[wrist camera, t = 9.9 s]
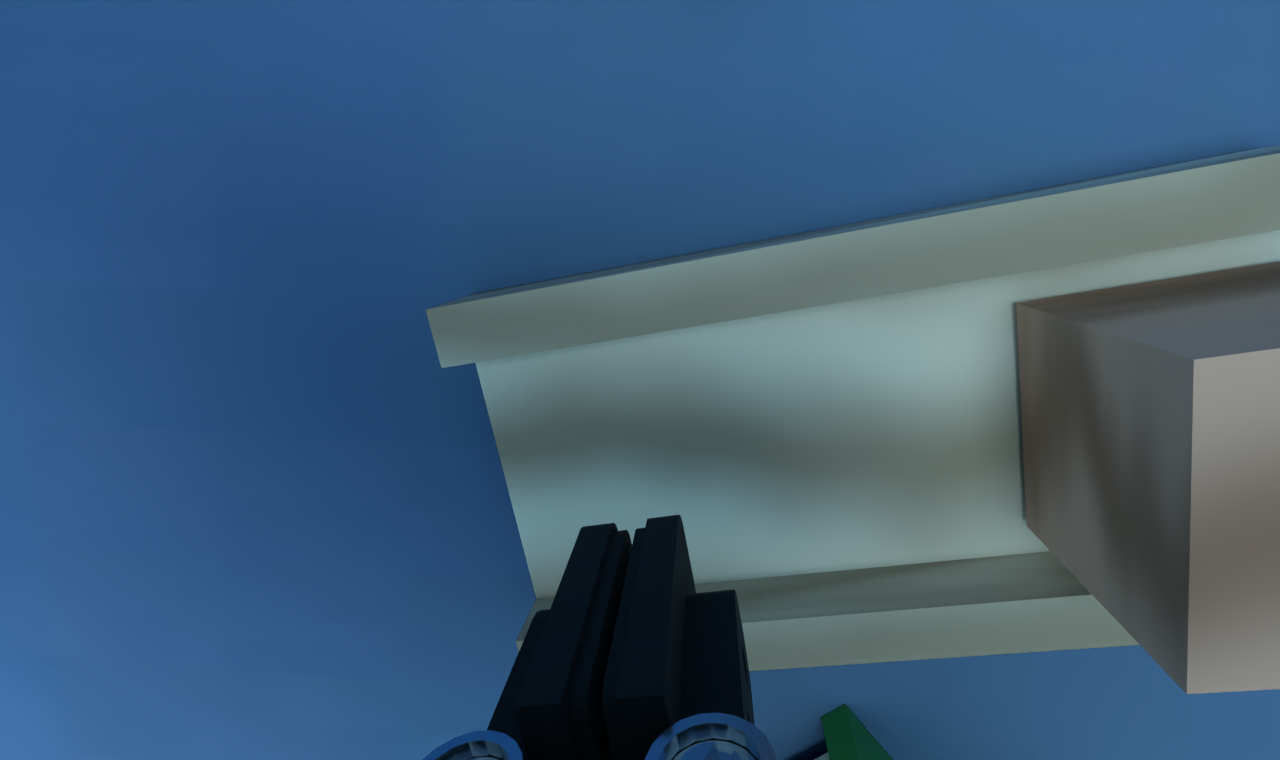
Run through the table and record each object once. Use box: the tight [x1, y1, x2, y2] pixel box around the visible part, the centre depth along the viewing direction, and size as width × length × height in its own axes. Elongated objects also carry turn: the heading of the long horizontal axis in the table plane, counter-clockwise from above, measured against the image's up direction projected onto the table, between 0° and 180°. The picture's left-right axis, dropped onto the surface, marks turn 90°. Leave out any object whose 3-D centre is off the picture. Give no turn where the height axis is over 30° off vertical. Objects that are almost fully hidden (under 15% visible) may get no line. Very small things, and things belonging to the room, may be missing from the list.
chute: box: [426, 146, 1280, 671], centre depth 16 cm, size 11×20×3 cm, turn 101°
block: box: [1016, 261, 1280, 694], centre depth 12 cm, size 6×6×6 cm
